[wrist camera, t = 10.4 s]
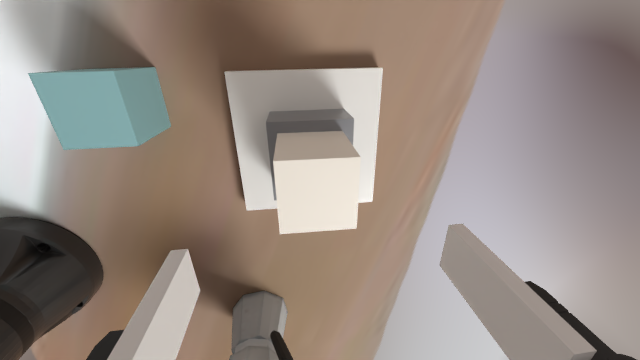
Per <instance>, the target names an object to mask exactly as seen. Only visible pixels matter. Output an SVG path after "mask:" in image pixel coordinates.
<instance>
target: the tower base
mask: <svg viewBox="0 0 640 360" xmlns="http://www.w3.org/2000/svg"><path fill="white" fill-rule="evenodd" d="M224 73H225V79H226V86H227V92H228V98H229V104H230V110H231V116H232V122H233V129H234V135H235V141H236V147H237V153H238V159H239V166H240V172H241V178H242V184H243V190H244V196H245V203H246V209H247V210H262V209H276V208H277V198H276V187H275V177H274V166H273V158H274V152H275V145H276V139H277V133H298V132H325V131H343V132H344V134H345V135H346V137H347V138H348V139H349V141H350V142H351V144H352V145H353V147H354V148H355V149H356V151H357V152H358V154H359V155H360V157H361V162H360V179H359V196H358V203H362V202H372V200H373V187H374V174H375V162H376V149H377V136H378V124H379V111H380V98H381V86H382V73H383V68H380V67H368V68H327V69H286V70H245V71H225V72H224Z"/></svg>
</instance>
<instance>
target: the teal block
mask: <svg viewBox="0 0 640 360" xmlns="http://www.w3.org/2000/svg"><path fill="white" fill-rule="evenodd" d="M28 74H29V76H30V79H31V81H32V83H33V85H34V87H35V89H36V91H37V94H38V96H39V98H40V100H41V102H42V104H43V106H44V109H45V111H46V113H47V115H48V117H49V119H50V121H51V124H52V126H53V128H54V130H55V132H56V134H57V136H58V139H59V141H60V143H61V145H62V147H63V149H64V150H70V149H90V148H109V147H129V146H139V145H141V144H143V143H144V142H146V141H148V140H149V139H151V138H153V137H154V136H156V135H158V134H159V133H161V132H163V131H164V130H166V129H168V128H169V127H171V124H170V120H169V117H168V113H167V109H166V106H165V102H164V98H163V94H162V91H161V87H160V83H159V80H158V76H157V72H156V68H155V67H142V68H104V69H82V70H68V71H54V72H40V73H28Z"/></svg>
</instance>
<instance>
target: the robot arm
mask: <svg viewBox="0 0 640 360" xmlns="http://www.w3.org/2000/svg"><path fill="white" fill-rule="evenodd" d="M440 266H441V268H442V269H443V270H444V272H445V273H446V274H447V276H448V277H449V279H450V280H451V281H452V283H453V284H454V285H455V287H456V288H457V289H458V291H459V292H460V293H461V295H462V296H463V297H464V299H465V300H466V302H467V303H468V304H469V306H470V307H471V308H472V309H473V311H474V312H475V314H476V315H477V316H478V318H479V319H480V320H481V322H482V323H483V325H484V326H485V327H486V328H487V330H488V331H489V332H490V334H491V335H492V337H493V338H494V339H495V340H496V342H497V343H498V345H499V346H500V347H501V349H502V350H503V352H504V353H505V354H506V355H507V357H508V358H509V360H636V359H634V358H632V357H629V356H626V355H623V354H616V353H615V352H614V351H613V350H611V349H610V348H609V347H608V346H607V345H606V344H605V343H603V342H602V341H601V340H600V339H599V338H598V337H597V336H596V335H595V334H593V333H592V332H591V331H590V330H589V329H588V328H587V327H586V326H585V325H583V324H582V323H581V322H580V321H579V320H578V319H577V318H576V317H574V316H573V315H572V314H571V313H569V312H568V310H567V309H566V308H564V307H563V306H562V305H561V304H559V303H558V301H557V300H556V299H555V298H553V297H552V296H551V295H550V294H549V293H548V292H547V291H546V290H544V289H543V288H541V287H539V286H537V285H536V284H534V283H532V282H531V281H528V282H524V281H522V279H520V278H519V277H518V276H517V275H516V274H515V273H514V272H513V271H512V270H511V269H510V268H509V267H508V266H507V265H505V263H504V262H503V261H501V260H500V259H499V258H498V257H497V256H496V255H495V254H494V253H493V252H492V251H491V250H490V249H489V248H488V247H487V246H486V245H484V244H483V243H482V242H481V241H480V240H479V239H478V238H477V237H476V236H475V235H474V234H473V233H471V231H470V230H469V229H468V228H466V227H465V226H464V225H463V224H455V225H449V227H448V231H447V235H446V241H445V244H444V248H443V252H442V257H441V261H440ZM102 281H103V269H102V265H101V263H100V260H99V259H98V257H97V255H96V254H95V253H94V251H93V250H92V249H91V248H90V247H89V246H88V245H87V244H86V243H85V242H84V241H82V240H81V239H80V238H78V237H77V236H75V235H74V234H72V233H70V232H68V231H67V230H65V229H63V228H60V227H58V226H56V225H53V224H50V223H47V222H43V221H40V220H35V219H29V218H19V217H9V218H0V360H19V359H20V357H21V356H22V355H23V354H24V353H25V352H26V350H28V348H29V347H30V346H31V345H32V344H33V343H34V342H35V341H36V340H37V339H39V338H40V337H42V336H43V335H45V334H46V333H47V332H49V331H50V330H52V329H53V328H55V327H56V326H57V325H59V324H60V323H62V322H63V321H65V320H66V319H67V318H69V317H70V316H71V315H73V314H74V313H76V312H77V311H79V310H80V309H82V308H83V307H84V306H85V305H86V304H87V303H88V302H89V301H90V300H91V298H92V297H93V296H94V295H95V293H96V292H97V291H98V290H99V288H100V286H101V284H102ZM199 293H200V288H199V285H198V281H197V278H196V275H195V271H194V268H193V264H192V261H191V258H190V254H189V251H188V249H180V250H171V251H170V253H169V254H168V256H167V258H166V260H165V261H164V263H163V265H162V266H161V268H160V270H159V271H158V273H157V275H156V277H155V278H154V280H153V282H152V283H151V285H150V287H149V289H148V290H147V292H146V294H145V295H144V297H143V299H142V301H141V302H140V304H139V306H138V307H137V309H136V311H135V313H134V314H133V316H132V318H131V319H130V321H129V323H128V325H127V326H126V328H125V330H119V331H110V332H109V333H108V334H107V335H106V336H105V337H104V338H103V339H102V340H101V341H100V342H99V343H98V344H97V345H96V346H95V347H94V349H93V350H92V352H91V353H90V355H89V356H88V358H87V359H86V360H176V357H177V354H178V352H179V349H180V346H181V343H182V340H183V338H184V335H185V332H186V329H187V326H188V324H189V321H190V318H191V315H192V313H193V310H194V307H195V304H196V301H197V299H198V296H199Z"/></svg>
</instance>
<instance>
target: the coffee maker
mask: <svg viewBox="0 0 640 360" xmlns="http://www.w3.org/2000/svg"><path fill="white" fill-rule="evenodd" d="M287 313H288V311H287V308H286V305H285V302H284V299H283V298H282V297H279V296H277V295H274V294H272V293H269V292H267V291H261V292H256V293H251V294H246V295H243V296H242V298H241V299H240V300H239V301H238V303H237V304H236V305H235V307H234V308H233V323H232V349H231V350H232V353H233V355H231V356H230V359H229V360H293V358H292V356H291V354H290V352H289V350H288V348H287V346H286V344H285V342H284V340H283V334H284V329H285V324H286V318H287Z"/></svg>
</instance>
